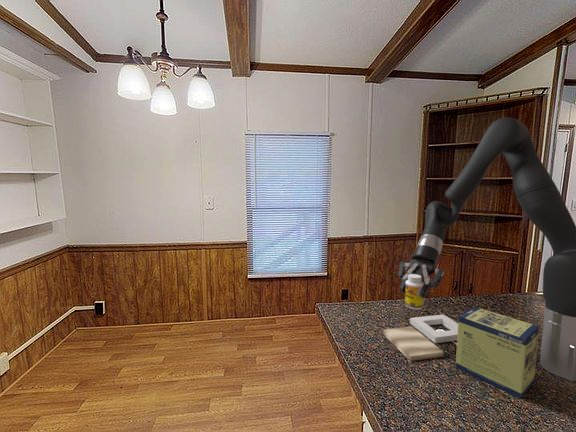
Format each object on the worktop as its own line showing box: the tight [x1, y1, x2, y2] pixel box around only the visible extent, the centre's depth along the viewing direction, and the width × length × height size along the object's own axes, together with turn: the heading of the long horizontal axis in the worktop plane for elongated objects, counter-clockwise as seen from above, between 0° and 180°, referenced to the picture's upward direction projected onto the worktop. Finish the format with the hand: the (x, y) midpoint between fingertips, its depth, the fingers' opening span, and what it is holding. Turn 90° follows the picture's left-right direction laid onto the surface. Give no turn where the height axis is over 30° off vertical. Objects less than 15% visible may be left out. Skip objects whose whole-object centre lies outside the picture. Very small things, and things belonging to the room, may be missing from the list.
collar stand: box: [409, 314, 458, 344], centre depth 103 cm, size 14×14×2 cm
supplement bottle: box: [404, 274, 425, 310], centre depth 94 cm, size 6×6×10 cm
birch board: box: [382, 325, 444, 362], centre depth 95 cm, size 16×11×2 cm
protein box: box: [454, 306, 540, 400], centre depth 79 cm, size 10×16×16 cm
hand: (412, 293), depth 93 cm, fingers closed on supplement bottle, 5 cm apart
